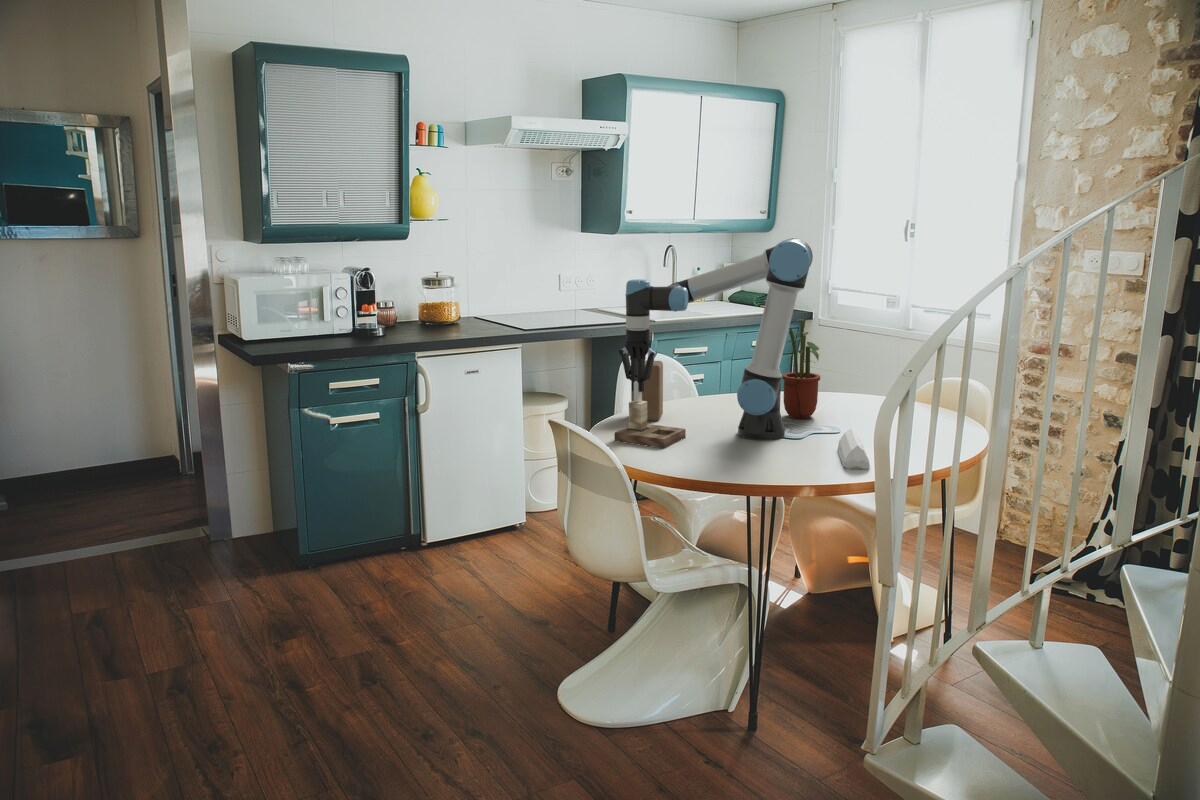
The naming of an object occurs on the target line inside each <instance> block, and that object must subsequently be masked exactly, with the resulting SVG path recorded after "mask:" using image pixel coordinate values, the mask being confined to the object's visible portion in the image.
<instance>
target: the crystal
mask: <svg viewBox="0 0 1200 800" xmlns="http://www.w3.org/2000/svg"><path fill="white" fill-rule="evenodd" d="M837 451H838V454H839V458H840V460H841V461H840V462H841V464H842V467H844V468H846V469H848V470H868V469H869V468H870V465H871V464H870V460H869V457H868V455H867V452H866V450H865V448H864V444H863V443H862V440H861V438H860V437H859V435H858V433H857V432H856V431H855V430H853V429H852V428H849V429H848V430H846V431H845V432H844V433H843V434H842V436H841V437H840V439H839V440H838V446H837Z"/></svg>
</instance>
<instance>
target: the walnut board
mask: <svg viewBox="0 0 1200 800" xmlns="http://www.w3.org/2000/svg"><path fill="white" fill-rule="evenodd" d="M647 427H648V428H647V430H645V431H643V432H638V431H630V430H629V425H628V426H626V427H623V428H622V429H619V430H617V431H614V434H613V435H614V438H613V440H614V442H615V441H619V442H618V443H622V442H626V443H625V444H629V443H634V444H633V445H636V444H640V445H639V446H643V445H647V446H646V447H650V446H654V447H653V448H657V447H660V448H659V449H664V448H665V449H667V448H668V447H670V446H672V445H674V444H677V443H679V442H680V441H682V440H685V439H686V437H687V435H686V434H687V433H686V428H683V427H674V426H666V425H658V424H651V423H647ZM681 439H682V440H681ZM666 447H667V448H666Z"/></svg>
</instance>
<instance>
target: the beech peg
mask: <svg viewBox="0 0 1200 800" xmlns="http://www.w3.org/2000/svg"><path fill="white" fill-rule="evenodd" d="M647 424H648V421H647V401H640V402H634V401H632V402H631V401H630V402H628V426H629V430H630V431H638V432H643V431H645V430H647V428H648V427H647Z"/></svg>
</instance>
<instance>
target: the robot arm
mask: <svg viewBox="0 0 1200 800" xmlns="http://www.w3.org/2000/svg"><path fill="white" fill-rule="evenodd" d="M813 259H814V257H813V250H812V248H811V247H810V244H808V243H807V242H806V241H804V240H803V239H800V238H788V239H785V240H782V241H780V242H778V243H777V244H776V245H775V246H772V247H770V248H767V249H764V251H763V253H761V254H759V255H756V256H752V257H750V258H746V259H743V260H741V261H738V262H734V263H731V264H729V265H726V266H722V267H720V268H716V269H713V270H711V271H708V272H705V273H702V274H698V275H696V276H692V277H689V278H687V279H683V280H680V281H675V282H673V283H671V284H669V285H667V286H651V283H650V282H651V281H649V280H648V279H640V278H639V279H630V280H628V281H627V282H626V285H625V286H626V287H625V328H626V330H625V341H626V343H625V346H624V347H623V348H621V349H619V350H618V353H619V354H620V356H621V361H622V365H623V369H624V374H625V375H624V376H625V378H626V380H629V381H630V383H631V382H632V391H634V402H640V401H642V392H643V391H644V381H646V380H649V379H650V375H651V371H652V366H653V362H654V361H655V359H656V356H657V354H658V352H657V351H656V350H653V349H652V348H651V345H650V340H651V339H650V335H651V333H650V329H649V328H650V326H651V325H650V320H651V319H650V318H651V316H650V312H651V311H661V312H662V311H666V312H684V311H686V310H687V309H688V306H689V304H690V303H693V302H696V301H699V300H702V299H705V298H708V297H711V296H714V295H718V294H721V293H724V292H727V291H731V290H733V289H737V288H740V287H742V286H743V287H744V286H746V285H750V284H752V283H757V282H759V281H762V280H765V282H766V284H767V285H768V286H769V287H768V292H767V296H766V299H765V304H764V308H763V313H762V315H761V316H762V317H761V321H760V325H759V328H758V333H757V336H756V337H757V338H756V341H755V345H754V350H753V354H752V359H751V362H750V363H748V364H747V365H745V366H744V370H743V374H742V379H741V383H740V386H739V387H738V389H737V392H736V397H737V402H738V406H739V407H740V408H741V409H742V410H743V413H742V415H741V418H740V421H739V425H738V427H737V435H738V436H739V437H742V438H745V439H748V440H754V441H755V440H756V441H772V440H779V439H782V438H784V437H785V436H786V435H785V434H786V433H785V432H786V428H785V424H784V421H783V418H782V415H781V393H782V392H781V389H782V375H783V373H782V369H781V368H780V365H781V361H782V359H783V354H784V353H783V352H784V349H785V347H786V346H785V345H786V343H787V341H786V340H787V338H788V337H787V336H788V334H789V330H790V327H791V326H790V325H791V321H792V317H793V313H794V310H795V305H796V301H797V297H798V294H799V293H800V292H801V291H803V290H804V289H805V286H806V282H807V278H808V274H809V271H810V270H809V269H810V267H811V265H812V263H813ZM646 356H648V357H647V358H646ZM645 360H647V363H646V367H645ZM637 380H638V381H637ZM784 435H785V436H784Z"/></svg>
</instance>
